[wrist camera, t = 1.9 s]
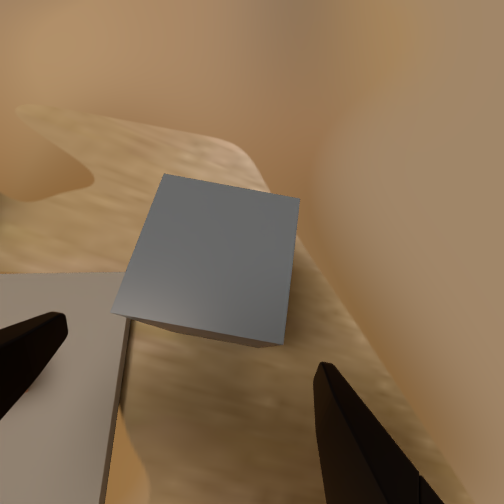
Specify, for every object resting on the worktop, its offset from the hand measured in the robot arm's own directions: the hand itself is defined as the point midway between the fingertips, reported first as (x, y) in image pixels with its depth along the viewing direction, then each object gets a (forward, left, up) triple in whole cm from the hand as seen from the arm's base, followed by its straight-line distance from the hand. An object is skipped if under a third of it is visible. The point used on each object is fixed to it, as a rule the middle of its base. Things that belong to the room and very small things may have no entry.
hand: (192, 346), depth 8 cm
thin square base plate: (-1, +13, -10) cm, 17 cm away
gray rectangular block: (+4, -1, -10) cm, 11 cm away
